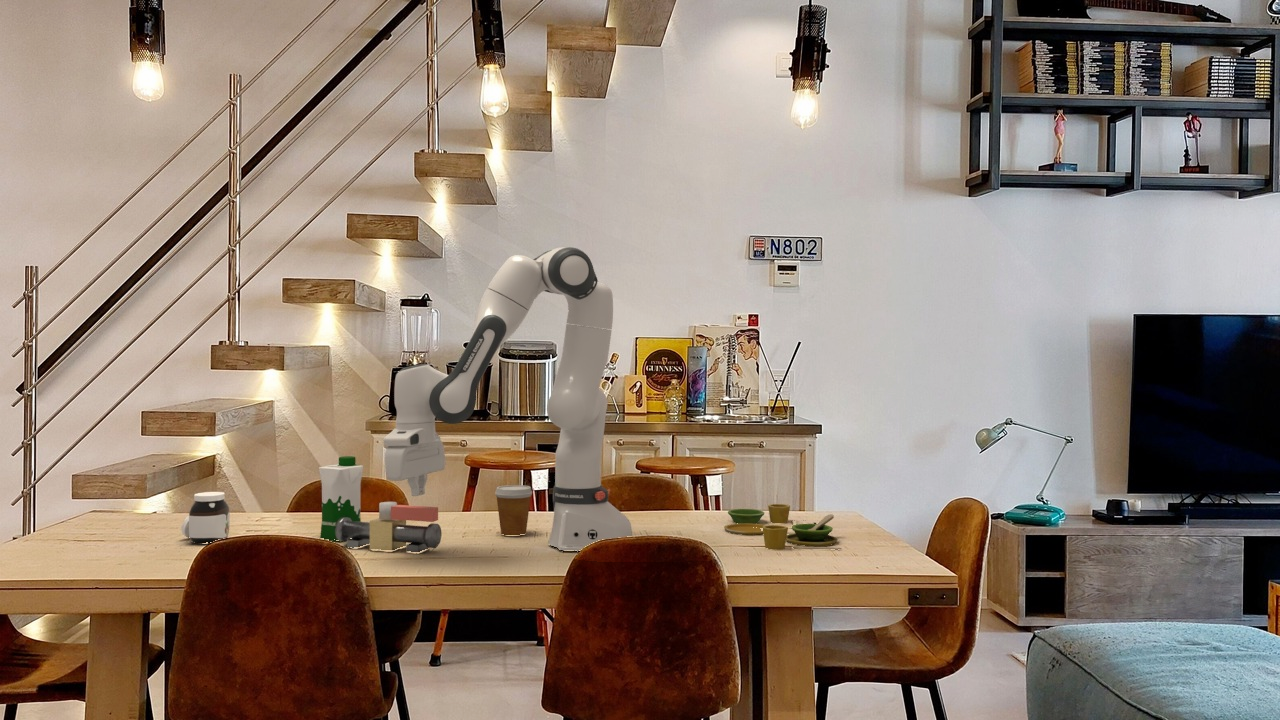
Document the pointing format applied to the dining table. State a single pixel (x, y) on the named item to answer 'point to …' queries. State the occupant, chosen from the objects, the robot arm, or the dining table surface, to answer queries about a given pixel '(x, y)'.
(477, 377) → the robot arm
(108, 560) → the dining table surface
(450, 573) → the dining table surface
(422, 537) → the grey pipe with feet
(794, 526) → the tableware set
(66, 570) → the dining table surface
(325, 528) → the soya milk
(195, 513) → the spread jar
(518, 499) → the disposable coffee cup
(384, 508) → the lever
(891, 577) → the dining table surface
